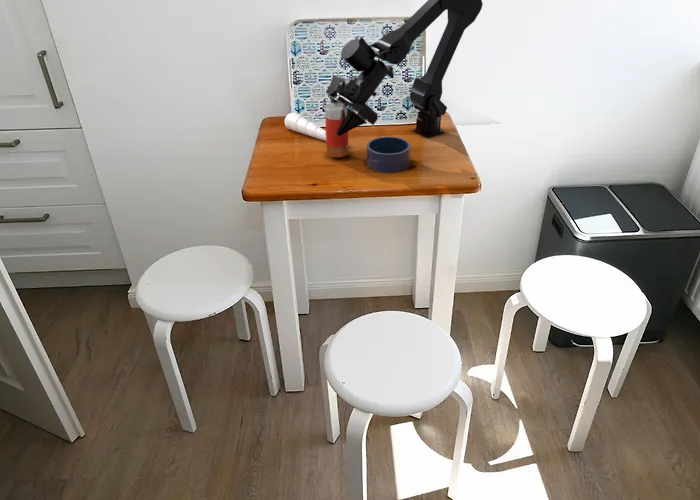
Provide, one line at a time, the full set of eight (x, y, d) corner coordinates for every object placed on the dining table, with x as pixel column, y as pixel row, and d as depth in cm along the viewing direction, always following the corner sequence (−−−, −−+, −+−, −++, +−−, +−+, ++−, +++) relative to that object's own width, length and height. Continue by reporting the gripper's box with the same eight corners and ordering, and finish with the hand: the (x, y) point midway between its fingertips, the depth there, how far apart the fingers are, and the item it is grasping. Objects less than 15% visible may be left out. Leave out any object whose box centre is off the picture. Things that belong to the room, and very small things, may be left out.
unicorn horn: (339, 152, 158) (339, 136, 155) (284, 130, 172) (282, 114, 169) (352, 147, 161) (351, 130, 158) (296, 125, 175) (294, 110, 172)
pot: (392, 150, 158) (392, 133, 156) (418, 164, 151) (419, 147, 148) (358, 160, 154) (358, 143, 151) (383, 176, 146) (383, 158, 143)
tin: (341, 146, 159) (339, 100, 152) (353, 153, 155) (351, 107, 148) (322, 151, 157) (320, 105, 149) (334, 159, 153) (332, 112, 145)
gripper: (330, 54, 151) (295, 103, 153) (366, 73, 137) (328, 126, 139) (357, 78, 158) (323, 125, 160) (394, 98, 145) (357, 149, 147)
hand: (332, 130), depth 152 cm, fingers closed on tin, 6 cm apart
